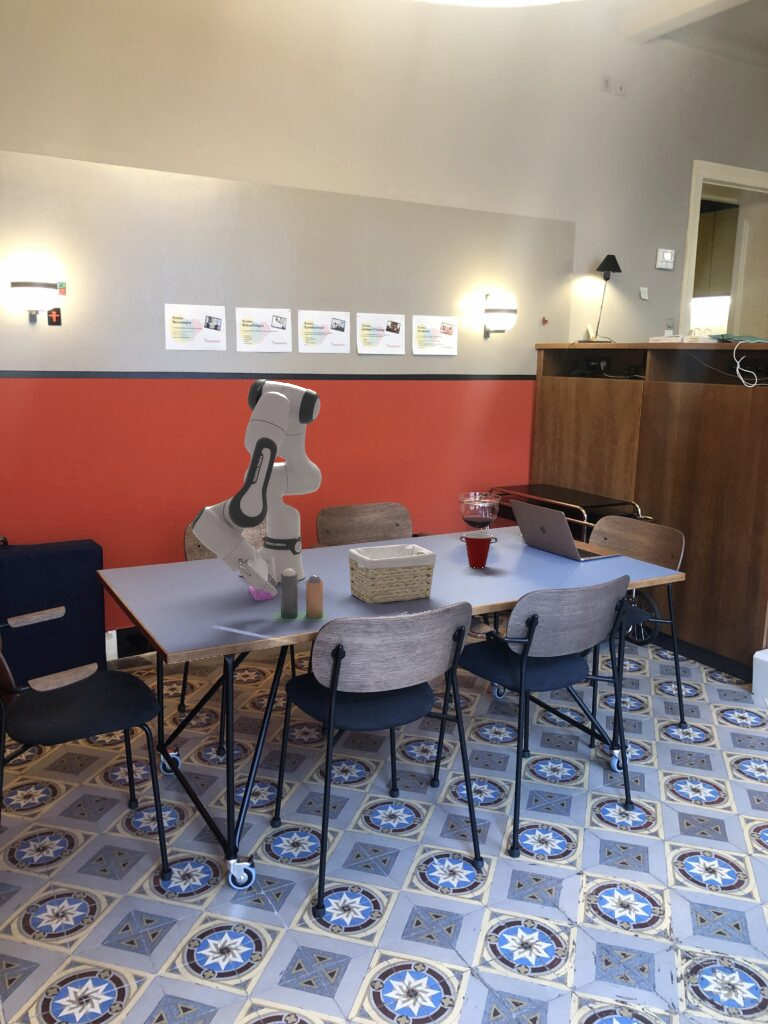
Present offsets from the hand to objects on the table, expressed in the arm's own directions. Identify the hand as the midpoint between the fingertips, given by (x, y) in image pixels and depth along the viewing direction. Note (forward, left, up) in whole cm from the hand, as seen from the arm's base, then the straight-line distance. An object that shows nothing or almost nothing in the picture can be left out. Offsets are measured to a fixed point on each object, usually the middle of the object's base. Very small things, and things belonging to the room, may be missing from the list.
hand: (276, 589), depth 220 cm
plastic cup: (+26, +87, -9) cm, 91 cm away
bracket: (-19, +18, -9) cm, 28 cm away
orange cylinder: (+9, +6, -8) cm, 13 cm away
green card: (+5, +4, -9) cm, 11 cm away
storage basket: (+17, +37, -9) cm, 42 cm away
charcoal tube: (+3, +2, -8) cm, 9 cm away
